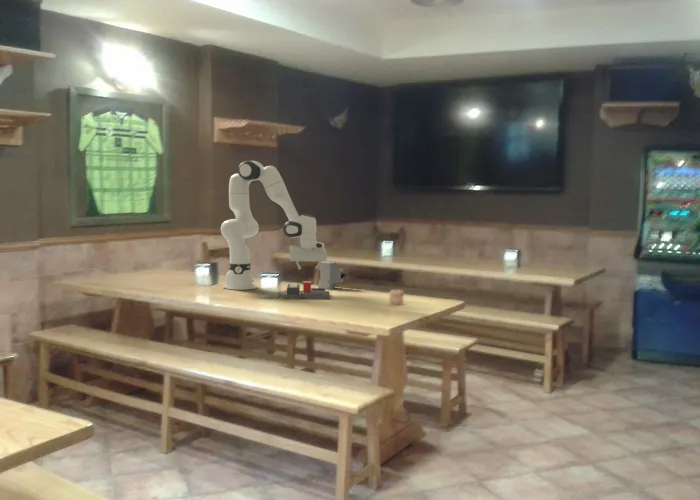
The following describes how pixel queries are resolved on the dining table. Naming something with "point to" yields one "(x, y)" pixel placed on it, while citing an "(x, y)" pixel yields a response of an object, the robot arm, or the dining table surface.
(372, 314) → the dining table surface
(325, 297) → the breaker panel
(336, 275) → the circuit breaker
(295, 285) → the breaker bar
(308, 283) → the lockout cap
